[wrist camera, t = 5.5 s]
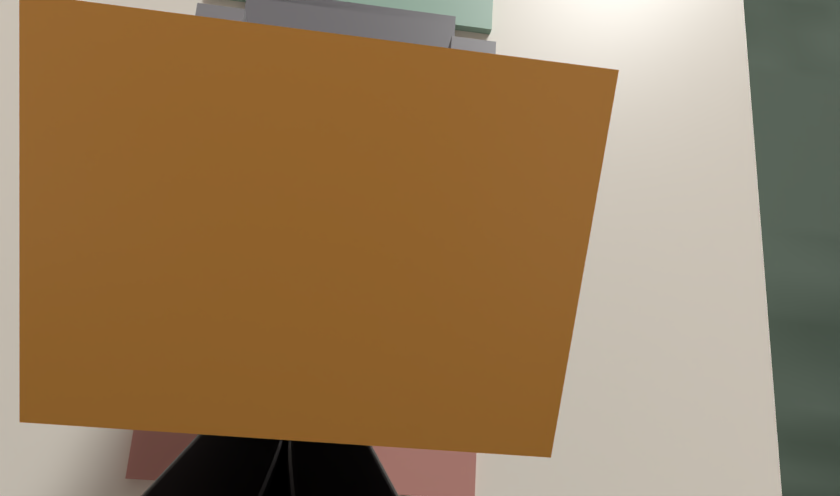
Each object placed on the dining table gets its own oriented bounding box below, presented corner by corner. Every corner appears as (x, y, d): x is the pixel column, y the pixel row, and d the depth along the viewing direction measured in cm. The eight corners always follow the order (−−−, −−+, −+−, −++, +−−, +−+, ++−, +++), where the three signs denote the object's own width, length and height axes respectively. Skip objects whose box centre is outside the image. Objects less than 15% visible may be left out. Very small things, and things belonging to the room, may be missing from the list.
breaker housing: (666, 534, 19) (884, 575, 11) (-102, 491, 17) (-416, 508, 9) (649, 44, 23) (802, -149, 16) (31, -38, 21) (-118, -304, 14)
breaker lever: (415, 192, 15) (551, 457, 5) (252, 174, 14) (18, 422, 4) (429, 69, 14) (618, 69, 4) (261, 48, 14) (19, -9, 4)
